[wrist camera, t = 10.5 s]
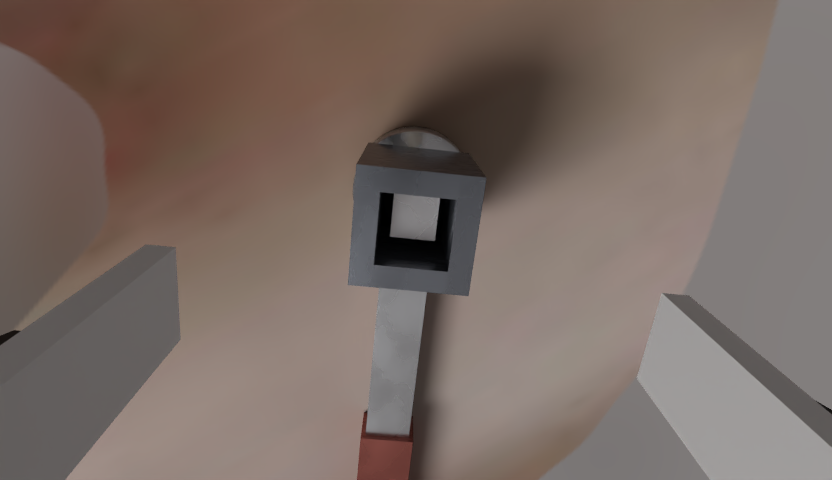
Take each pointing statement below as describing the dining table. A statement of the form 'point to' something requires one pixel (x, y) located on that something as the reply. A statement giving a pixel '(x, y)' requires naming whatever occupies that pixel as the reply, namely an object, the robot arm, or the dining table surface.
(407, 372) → the ratchet
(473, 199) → the socket
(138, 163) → the dining table surface
